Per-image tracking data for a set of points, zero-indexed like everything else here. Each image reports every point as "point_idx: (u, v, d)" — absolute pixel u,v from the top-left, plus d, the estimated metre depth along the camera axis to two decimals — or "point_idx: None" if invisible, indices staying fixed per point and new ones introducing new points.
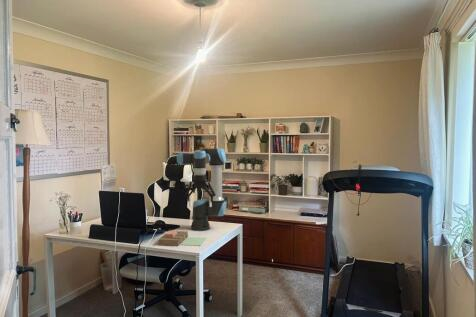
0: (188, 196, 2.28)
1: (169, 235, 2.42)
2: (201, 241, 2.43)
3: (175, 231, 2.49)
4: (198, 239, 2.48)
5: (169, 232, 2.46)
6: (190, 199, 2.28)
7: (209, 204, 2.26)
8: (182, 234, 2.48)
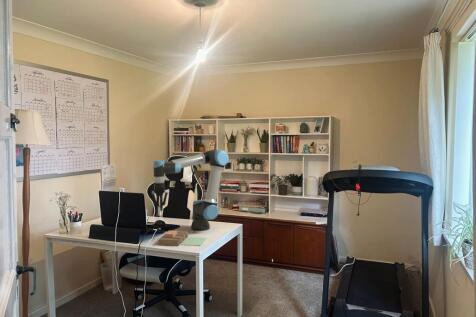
0: (157, 206, 2.45)
1: (169, 235, 2.42)
2: (201, 241, 2.43)
3: (175, 231, 2.49)
4: (198, 239, 2.48)
5: (169, 232, 2.46)
6: None
7: (159, 213, 2.46)
8: (182, 234, 2.48)
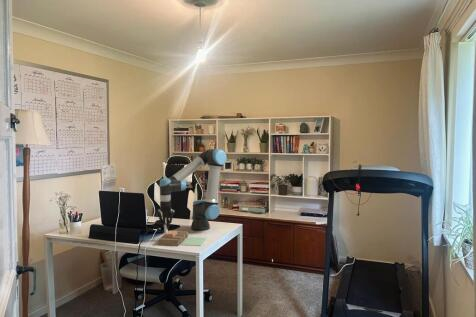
0: (164, 224, 2.46)
1: (169, 235, 2.42)
2: (201, 241, 2.43)
3: (175, 231, 2.49)
4: (198, 239, 2.48)
5: (169, 232, 2.46)
6: None
7: (165, 231, 2.46)
8: (182, 234, 2.48)
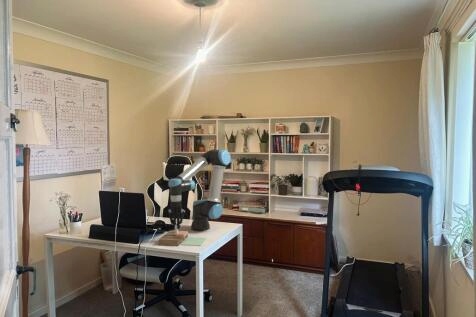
0: (174, 224, 2.45)
1: (180, 235, 2.41)
2: (201, 241, 2.43)
3: (186, 231, 2.48)
4: (198, 239, 2.48)
5: (180, 232, 2.45)
6: None
7: (176, 231, 2.45)
8: None
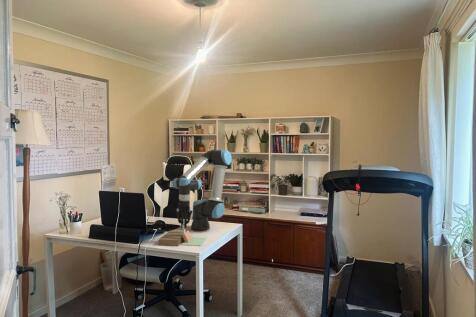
0: (182, 223, 2.44)
1: (185, 238, 2.40)
2: (201, 241, 2.43)
3: (191, 237, 2.47)
4: (198, 239, 2.48)
5: (187, 234, 2.44)
6: None
7: (182, 231, 2.44)
8: (182, 234, 2.48)
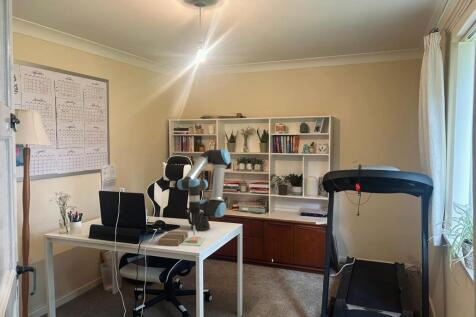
0: (192, 225, 2.42)
1: (192, 241, 2.40)
2: (201, 241, 2.43)
3: None
4: None
5: None
6: None
7: (194, 232, 2.42)
8: (182, 234, 2.48)
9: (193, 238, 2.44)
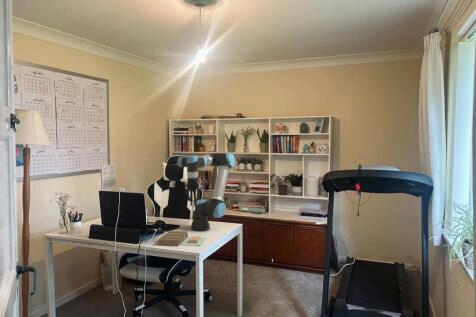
0: (191, 201, 2.45)
1: (192, 241, 2.40)
2: (201, 241, 2.43)
3: None
4: None
5: None
6: None
7: (193, 208, 2.45)
8: (182, 234, 2.48)
9: (193, 238, 2.44)
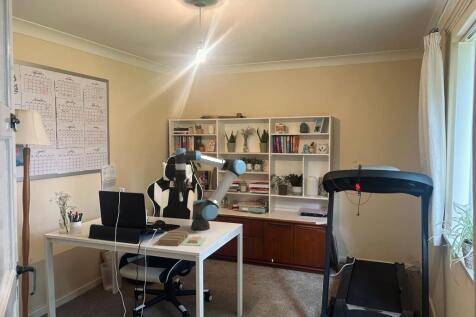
0: (179, 192, 2.55)
1: (192, 241, 2.40)
2: (201, 241, 2.43)
3: None
4: None
5: None
6: None
7: (180, 199, 2.55)
8: (182, 234, 2.48)
9: (193, 238, 2.44)
